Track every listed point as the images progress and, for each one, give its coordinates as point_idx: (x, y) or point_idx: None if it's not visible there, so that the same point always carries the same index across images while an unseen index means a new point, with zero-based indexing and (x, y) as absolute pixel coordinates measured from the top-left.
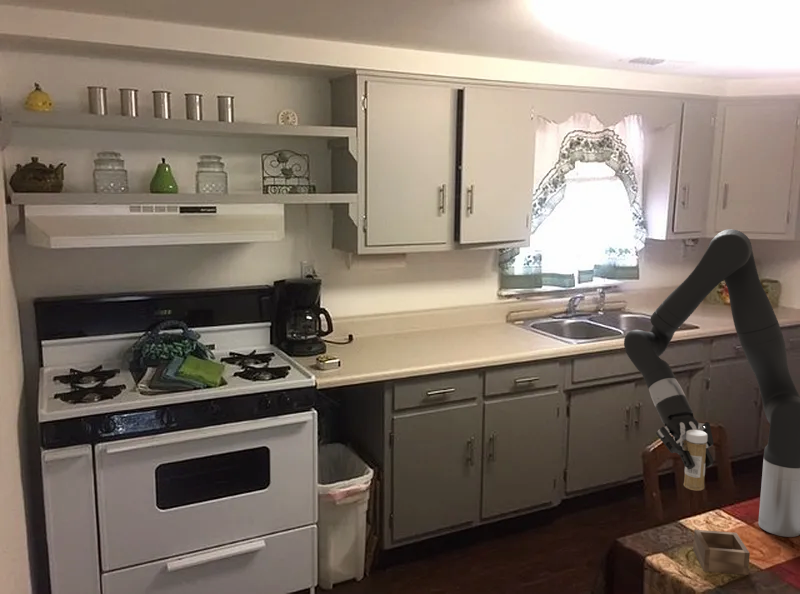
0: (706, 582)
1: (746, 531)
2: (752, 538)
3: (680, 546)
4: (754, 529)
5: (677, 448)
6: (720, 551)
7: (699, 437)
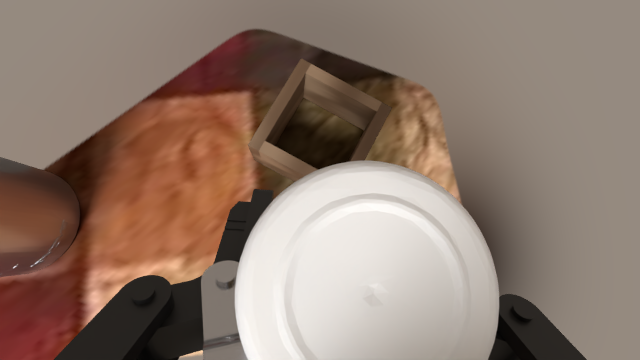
0: (401, 94)
1: (129, 236)
2: (149, 202)
3: None
4: (98, 238)
5: (512, 296)
6: (359, 91)
7: (421, 176)
